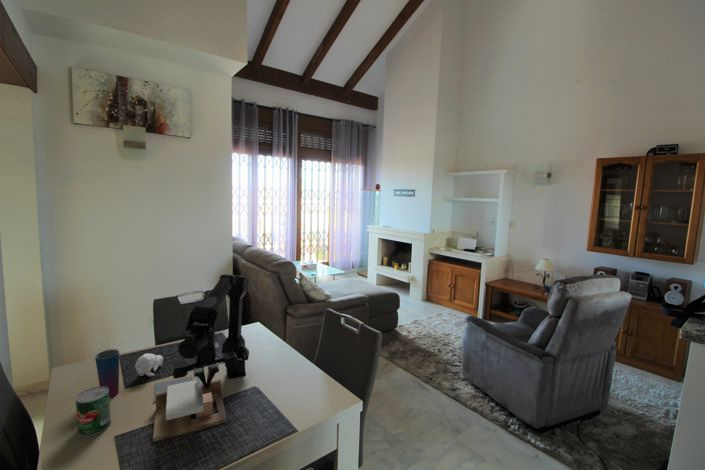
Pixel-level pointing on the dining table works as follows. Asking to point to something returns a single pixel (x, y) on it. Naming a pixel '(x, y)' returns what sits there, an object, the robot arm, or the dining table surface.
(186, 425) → the brown open box
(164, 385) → the mat
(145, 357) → the white animal figurine
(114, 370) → the cup
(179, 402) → the cover
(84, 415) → the canned tomato
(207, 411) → the block
